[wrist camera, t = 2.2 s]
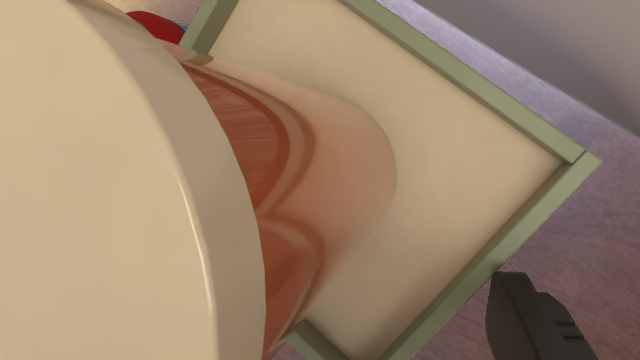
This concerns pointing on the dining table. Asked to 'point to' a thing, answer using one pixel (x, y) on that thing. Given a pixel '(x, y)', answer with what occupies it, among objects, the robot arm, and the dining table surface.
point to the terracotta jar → (167, 193)
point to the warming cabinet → (407, 164)
